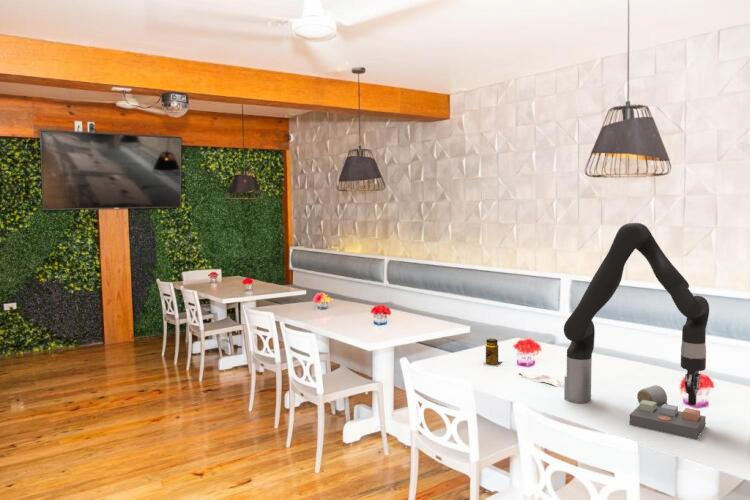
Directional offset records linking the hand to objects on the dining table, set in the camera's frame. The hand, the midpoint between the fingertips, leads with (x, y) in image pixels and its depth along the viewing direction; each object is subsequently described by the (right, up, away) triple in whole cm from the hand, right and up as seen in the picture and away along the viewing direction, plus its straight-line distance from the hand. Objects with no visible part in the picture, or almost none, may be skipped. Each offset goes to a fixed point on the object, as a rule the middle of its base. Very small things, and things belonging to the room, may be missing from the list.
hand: (692, 404), depth 200 cm
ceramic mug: (-3, -7, +21) cm, 22 cm away
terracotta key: (0, -6, +1) cm, 6 cm away
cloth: (-34, -5, +57) cm, 67 cm away
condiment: (-51, -3, +85) cm, 99 cm away
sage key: (-11, -5, +9) cm, 15 cm away
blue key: (-5, -5, +5) cm, 9 cm away
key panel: (-7, -8, +3) cm, 11 cm away
